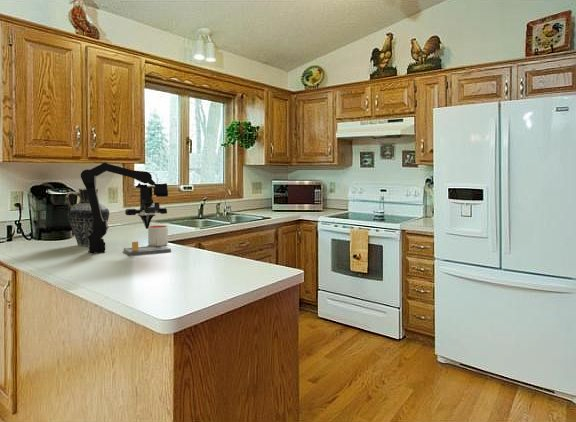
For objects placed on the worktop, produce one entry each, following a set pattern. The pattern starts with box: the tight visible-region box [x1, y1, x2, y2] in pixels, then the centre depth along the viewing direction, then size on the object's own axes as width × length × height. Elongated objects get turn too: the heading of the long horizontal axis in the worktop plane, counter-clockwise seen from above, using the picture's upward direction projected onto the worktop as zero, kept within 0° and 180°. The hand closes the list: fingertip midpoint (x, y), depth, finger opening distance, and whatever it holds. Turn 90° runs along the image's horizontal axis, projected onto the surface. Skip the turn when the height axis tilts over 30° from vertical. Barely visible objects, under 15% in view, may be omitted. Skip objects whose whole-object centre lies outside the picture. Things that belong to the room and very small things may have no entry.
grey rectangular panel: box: [123, 245, 172, 257], centre depth 193 cm, size 19×13×2 cm
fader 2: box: [156, 237, 162, 246], centre depth 200 cm, size 2×2×4 cm
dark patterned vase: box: [64, 187, 110, 247], centre depth 208 cm, size 21×19×30 cm
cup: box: [147, 225, 169, 246], centre depth 212 cm, size 10×10×10 cm
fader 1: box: [131, 240, 139, 251], centre depth 186 cm, size 2×2×4 cm
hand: (146, 228), depth 196 cm, fingers closed
